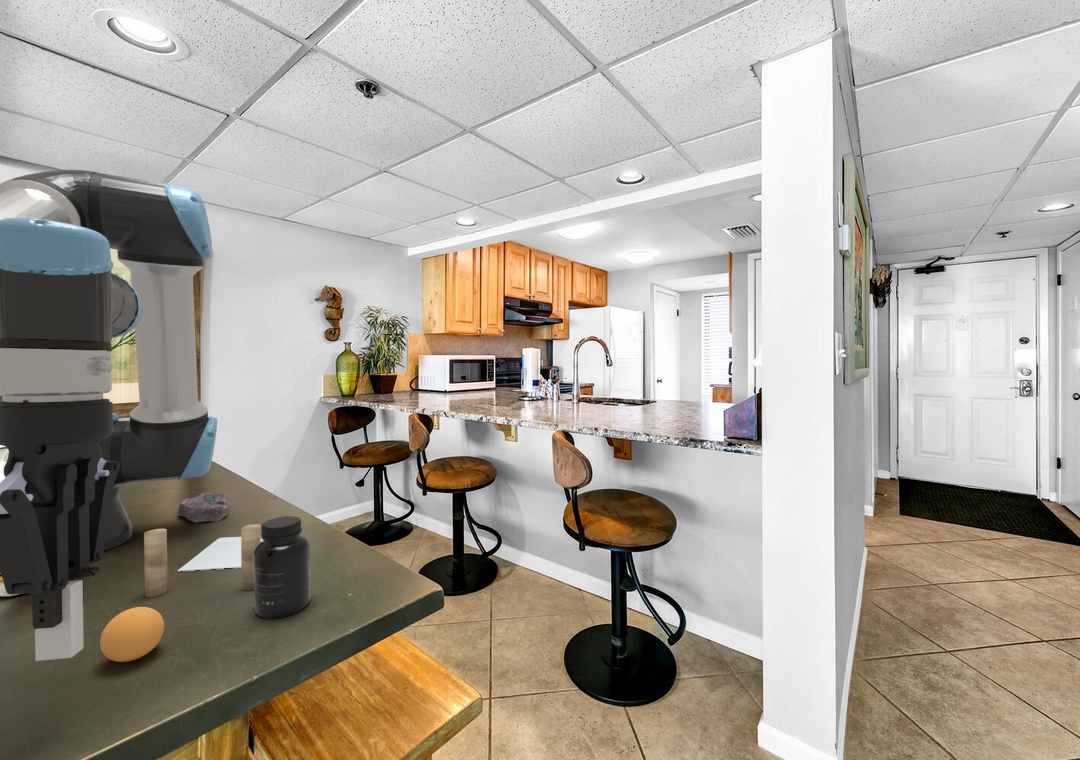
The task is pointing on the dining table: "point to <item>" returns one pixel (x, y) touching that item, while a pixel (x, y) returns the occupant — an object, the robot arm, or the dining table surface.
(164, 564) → the post
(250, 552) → the post
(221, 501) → the rock
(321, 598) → the dining table surface
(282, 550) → the supplement bottle
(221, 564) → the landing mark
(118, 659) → the ball
